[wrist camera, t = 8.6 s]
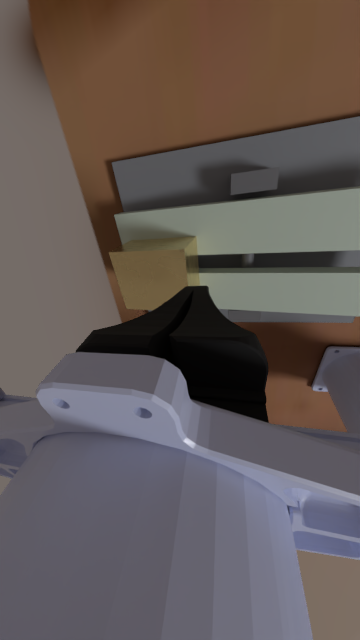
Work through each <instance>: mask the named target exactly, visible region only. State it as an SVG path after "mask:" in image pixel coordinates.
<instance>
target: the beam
mask: <svg viewBox="0 0 360 640" xmlns="http://www.w3.org/2000/svg"><path fill="white" fill-rule="evenodd" d="M114 217H115V220H116V224H117V228H118V231H119V235H120V239H121V242H122V245H123V244H125V243H127V242H129V241H130V240H144V239H160V238H177V237H194V236H197V250H198V255H216V254H242V263H241V268H199V279H200V286H208V287H209V294H210V296H211V298H212V300H213V302H214V304H215V305H216V307H217V308H218V309H230V310H249V311H268V312H286V313H305V314H323V315H342V316H360V267H277V268H253V262H254V253H282V252H316V251H349V250H360V186H357V187H348V188H339V189H330V190H321V191H312V192H303V193H294V194H285V195H276V196H267V197H259V196H255V197H247V198H245V199H240V200H231V201H222V202H213V203H204V204H195V205H186V206H177V207H168V208H159V209H150V210H141V211H132V212H123V213H119V214H115V215H114Z"/></svg>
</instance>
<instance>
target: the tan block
mask: <svg viewBox="0 0 360 640" xmlns="http://www.w3.org/2000/svg"><path fill="white" fill-rule="evenodd" d="M109 255H110V259H111V262H112V265H113V268H114V271H115V274H116V277H117V281H118V284H119V287H120V290H121V293H122V296H123V299H124V303H125V306H126V309H139V310H154V309H156V308H158V307H159V306H161V305H162V304H164V303H165V302H166V301H168V300H169V299H171V298H172V297H173V296H174V295H176V294H177V293H178V292H179V291H180V290H182V289H183V288H184V287H186V286H200V279H199V264H198V250H197V236H194V237H177V238H160V239H144V240H130V241H129V242H127V243H125V244H123V245H121V246H119V247H118V248H116V249H114V250H112V251H110V252H109Z"/></svg>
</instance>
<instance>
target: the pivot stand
mask: <svg viewBox="0 0 360 640" xmlns="http://www.w3.org/2000/svg"><path fill="white" fill-rule="evenodd" d="M112 166H113V170H114V175H115V179H116V183H117V187H118V191H119V195H120V199H121V203H122V207H123V211H124V212H132V211H141V210H150V209H159V208H168V207H177V206H186V205H195V204H204V203H213V202H222V201H231V200H240V199H245V198H247V197H255V196H259V197H267V196H276V195H285V194H294V193H303V192H312V191H321V190H330V189H339V188H348V187H357V186H360V116H359V117H354V118H348V119H343V120H338V121H332V122H327V123H321V124H316V125H311V126H305V127H300V128H294V129H289V130H284V131H278V132H273V133H267V134H262V135H257V136H251V137H246V138H241V139H235V140H230V141H224V142H219V143H214V144H208V145H203V146H197V147H192V148H187V149H181V150H176V151H170V152H165V153H160V154H154V155H149V156H144V157H138V158H133V159H127V160H122V161H117V162H112ZM241 263H242V254H216V255H198V264H199V268H241ZM277 267H360V250H349V251H316V252H282V253H254V262H253V268H277ZM150 311H152V310H148V312H150ZM219 311H220V312H221V313H222V314H223V315H224V316H225V317H226V318H227V319H229V320H230V321H231V322H337V323H353V320H354V318H355V316H342V315H323V314H305V313H286V312H268V311H249V310H230V309H219Z"/></svg>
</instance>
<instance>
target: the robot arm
mask: <svg viewBox="0 0 360 640" xmlns="http://www.w3.org/2000/svg"><path fill="white" fill-rule="evenodd" d="M336 350H337V351H336ZM267 375H268V363H267V359H266V356H265V353H264V351H263V349H262V346H261V344H260V342H259V340H258V339H257V337H256V335H255V334H254V333H252V332H250V331H247V330H245V329H243V328H241V327H239V326H237V325H236V324H234V323H233V322H231V321H230V320H229V319H227V318H226V317H225V316H224V315H223V314H222V313H221V312H220V311H219V309H218V308H217V307H216V305H215V304H214V302H213V300H212V298H211V296H210V294H209V287H208V286H186V287H184V288H183V289H182V290H180V291H179V292H178V293H177V294H176V295H174V296H173V297H172V298H171V299H169V300H168V301H166V302H165V303H164V304H162V305H161V306H159V307H158V308H156V309H154V310H152V311H150V312H149V313H147V314H145V315H142V316H140V317H138V318H135V319H133V320H130V321H127V322H125V323H121V324H118V325H115V326H111V327H107V328H102V329H99V330H93V331H92V332H91V334H90V335H89V336H88V337H87V338H86V339H85V341H84V342H83V343H82V344H81V345H80V346H79V348H78V349H77V350H76V352H75V353H72V354H68V355H66V356H65V357H64V358H63V359H62V360H61V361H60V362H59V363H58V365H56V366H55V368H54V369H53V370H52V371H51V372H50V373H49V374H48V375H47V376H46V378H45V379H44V380H43V381H42V382H41V383H40V384H39V387H38V388H37V390H36V396H37V398H31V397H22V396H13V395H5V393H4V391H3V390H2V389H1V388H0V475H1V476H4V477H8V478H10V479H12V480H11V481H10V482H9V484H8V485H7V487H6V488H5V489H4V491H3V492H2V494H1V495H0V640H313V637H312V631H311V626H310V621H309V616H308V610H307V605H306V599H305V594H304V589H303V584H302V578H301V573H300V568H299V563H298V557H297V552H296V550H302V551H308V552H314V553H320V554H327V555H332V556H339V557H345V558H351V559H357V560H360V347H335V346H331V347H328V348H327V349H326V351H325V353H324V356H323V358H322V361H321V363H320V366H319V368H318V371H317V374H316V376H315V379H314V381H313V384H312V386H311V387H312V390H314V391H325V392H329V394H330V396H331V398H332V400H333V403H334V405H335V407H336V409H337V411H338V413H339V415H340V417H341V419H342V421H343V423H344V425H345V427H346V429H347V432H339V431H330V430H320V429H311V428H302V427H293V426H284V425H275V424H270V423H269V422H268V416H267V411H266V405H265V404H266V395H265V386H266V381H267Z"/></svg>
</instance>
